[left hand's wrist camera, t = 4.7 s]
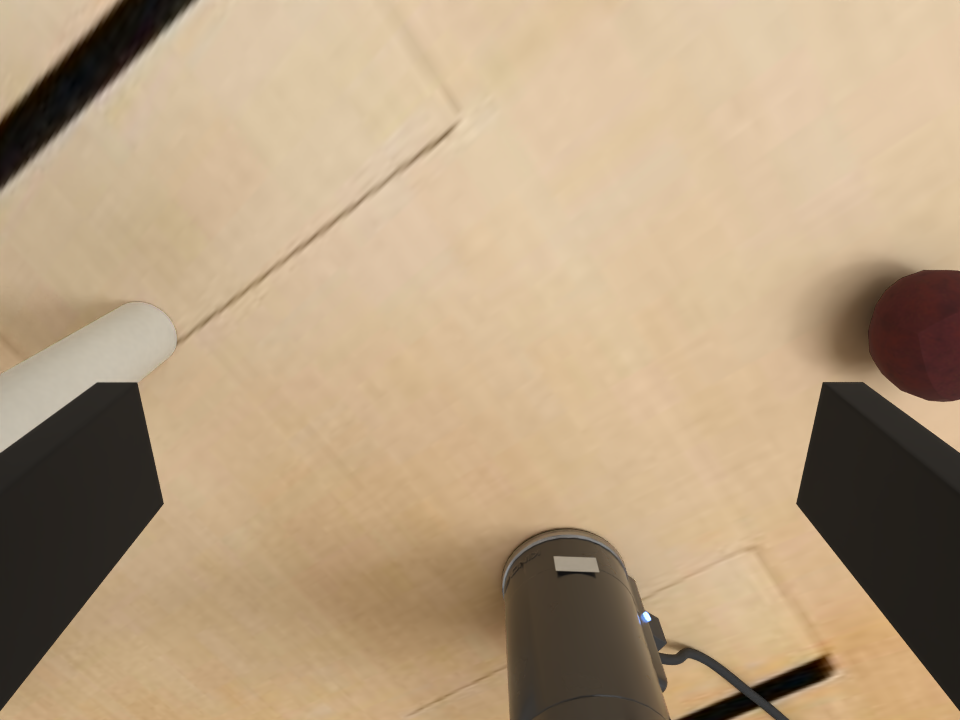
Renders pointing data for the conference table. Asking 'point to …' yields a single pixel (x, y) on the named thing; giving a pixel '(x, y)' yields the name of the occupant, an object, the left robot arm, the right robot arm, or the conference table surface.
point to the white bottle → (83, 365)
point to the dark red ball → (920, 334)
